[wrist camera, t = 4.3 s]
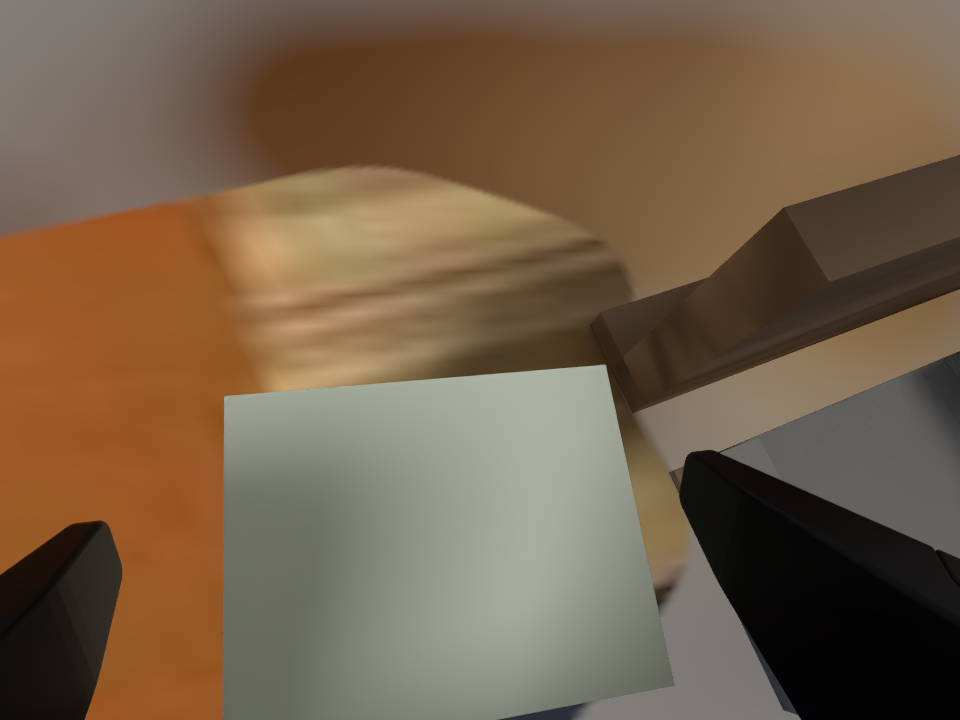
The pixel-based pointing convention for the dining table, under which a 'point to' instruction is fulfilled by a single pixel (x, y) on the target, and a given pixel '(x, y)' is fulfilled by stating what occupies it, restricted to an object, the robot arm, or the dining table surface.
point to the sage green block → (433, 551)
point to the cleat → (875, 459)
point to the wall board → (794, 285)
